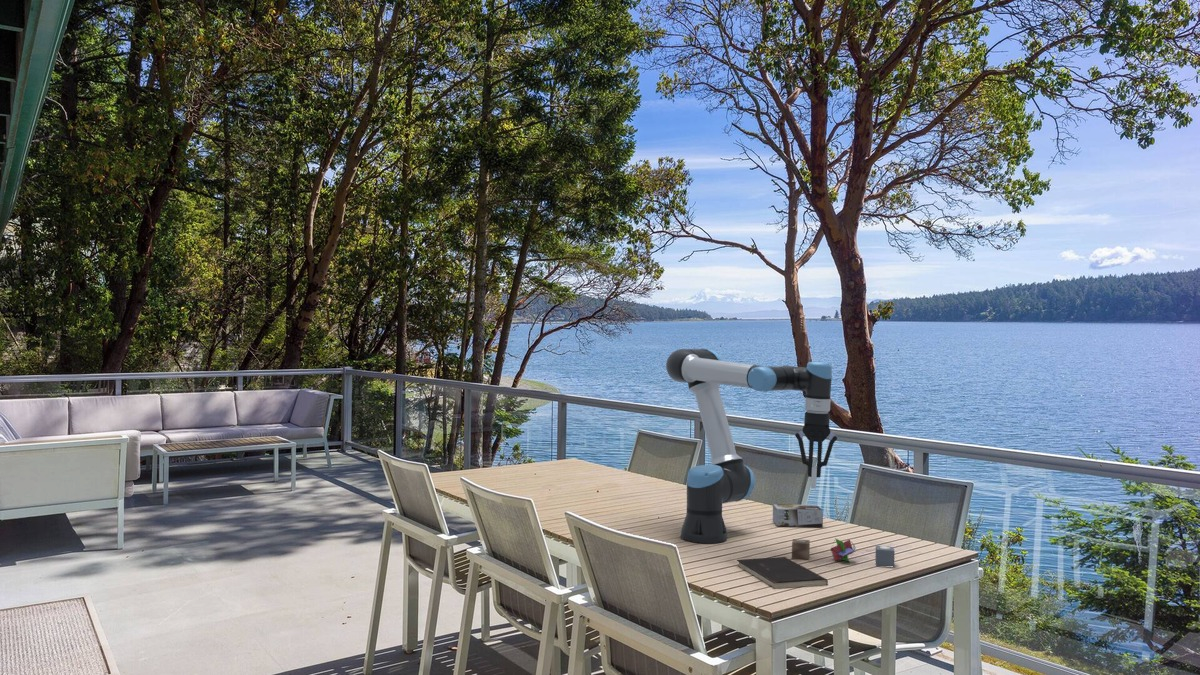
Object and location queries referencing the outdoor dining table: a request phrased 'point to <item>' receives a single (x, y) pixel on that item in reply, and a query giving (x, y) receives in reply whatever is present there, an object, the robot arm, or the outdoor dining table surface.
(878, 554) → the charcoal dotted block
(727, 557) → the outdoor dining table surface
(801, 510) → the coffee box
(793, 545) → the walnut dotted block
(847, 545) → the geometric puzzle
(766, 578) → the hardcover book
